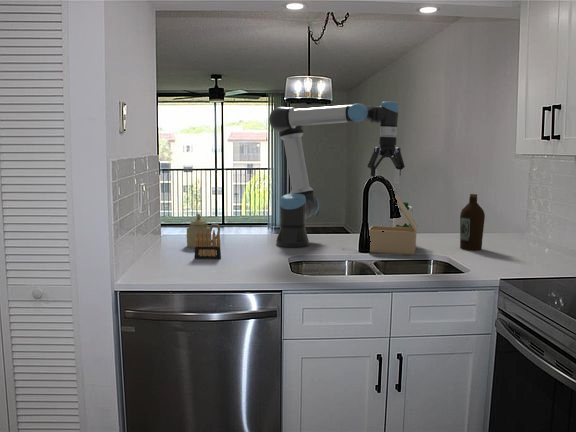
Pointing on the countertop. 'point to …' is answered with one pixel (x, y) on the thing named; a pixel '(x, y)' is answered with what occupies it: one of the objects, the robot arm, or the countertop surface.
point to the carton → (392, 240)
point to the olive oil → (471, 225)
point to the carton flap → (405, 211)
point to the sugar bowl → (198, 226)
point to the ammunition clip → (202, 247)
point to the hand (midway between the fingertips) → (385, 183)
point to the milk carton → (403, 218)
